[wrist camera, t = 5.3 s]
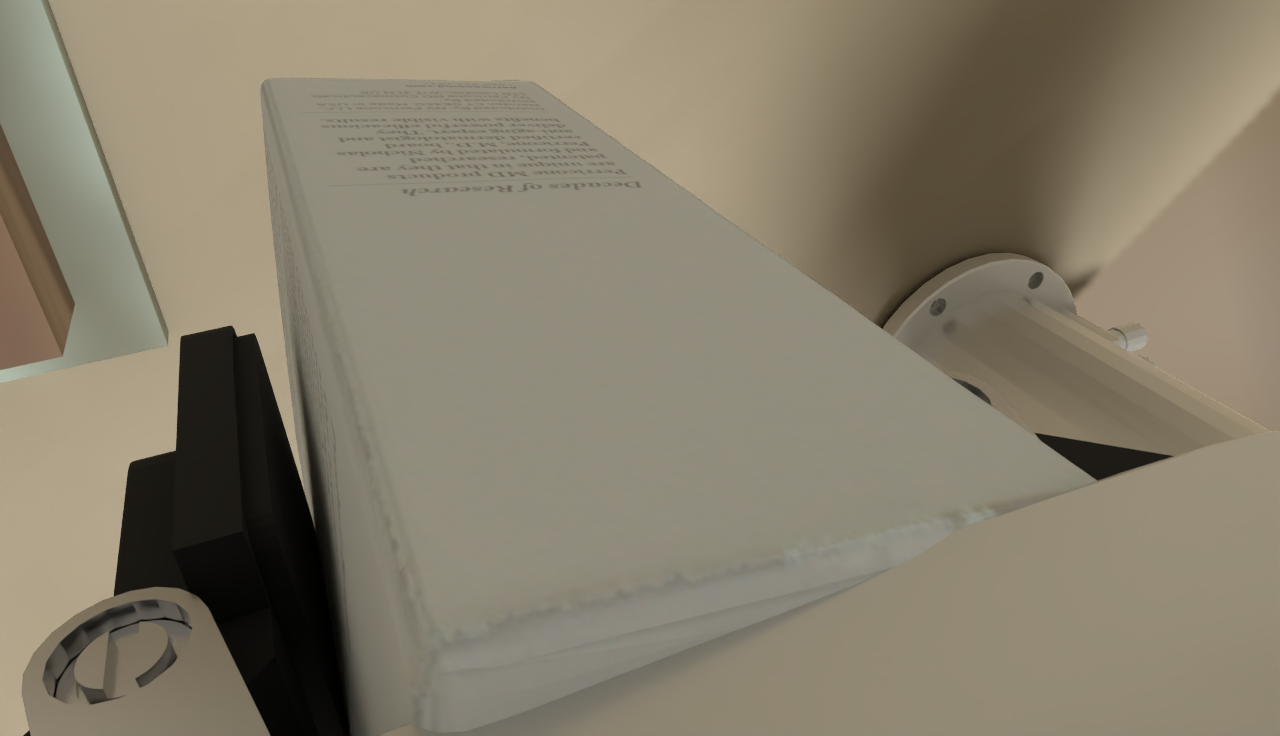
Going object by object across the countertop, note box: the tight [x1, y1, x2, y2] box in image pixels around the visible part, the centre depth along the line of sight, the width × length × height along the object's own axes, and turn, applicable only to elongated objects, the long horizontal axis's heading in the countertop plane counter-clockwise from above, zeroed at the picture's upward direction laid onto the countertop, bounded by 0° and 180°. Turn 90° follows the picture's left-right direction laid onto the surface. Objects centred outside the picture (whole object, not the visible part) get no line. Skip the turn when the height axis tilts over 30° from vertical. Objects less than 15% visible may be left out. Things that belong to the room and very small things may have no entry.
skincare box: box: [261, 78, 1097, 736], centre depth 11 cm, size 6×4×12 cm
